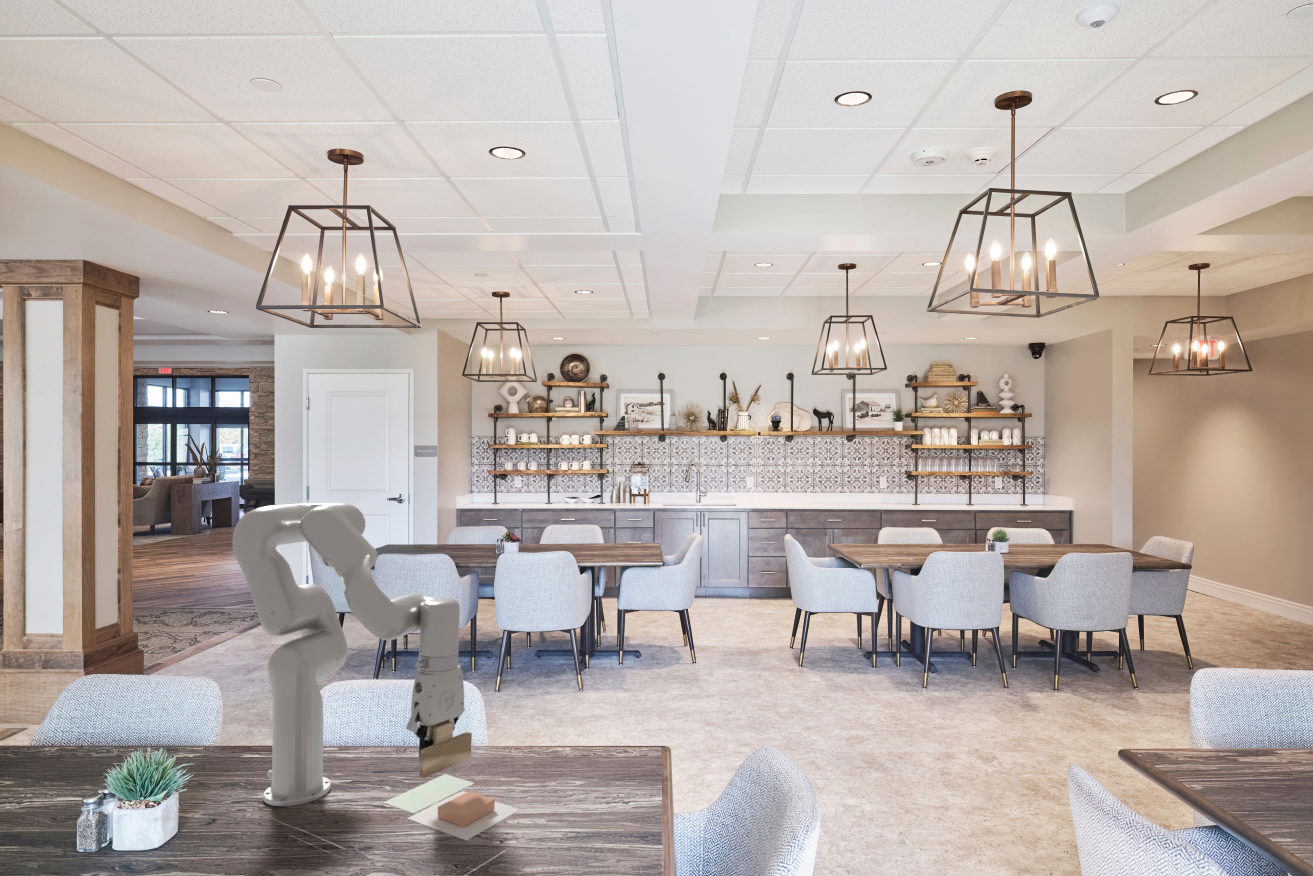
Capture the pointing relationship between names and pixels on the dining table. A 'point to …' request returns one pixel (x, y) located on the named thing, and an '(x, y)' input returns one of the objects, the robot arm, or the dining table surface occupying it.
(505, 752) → the dining table surface
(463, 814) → the tile
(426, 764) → the stepped beige block
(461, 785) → the pad
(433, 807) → the mat
